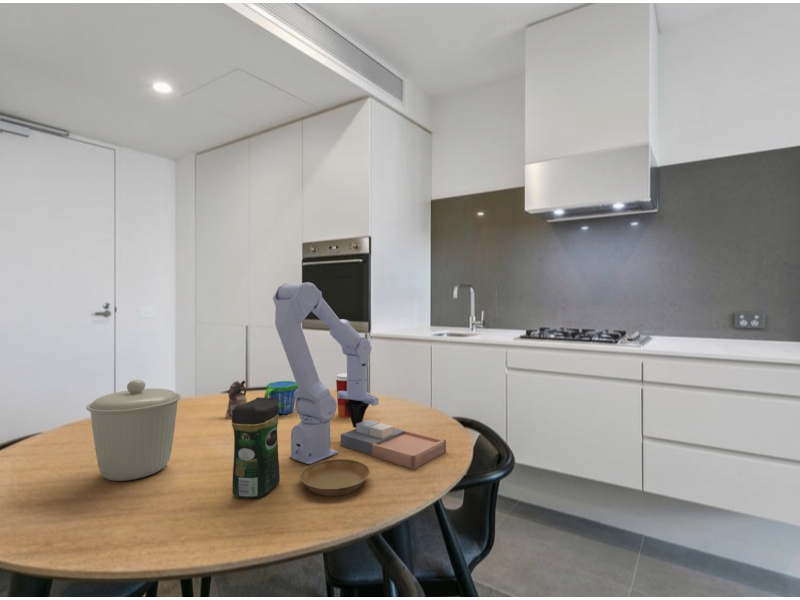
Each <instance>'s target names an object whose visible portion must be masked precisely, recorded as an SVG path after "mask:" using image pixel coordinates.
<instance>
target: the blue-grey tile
mask: <svg viewBox="0 0 800 600" xmlns="http://www.w3.org/2000/svg"><path fill="white" fill-rule="evenodd" d="M379 423H380V422H377V421H374V420H369V419H366V420H363V421H362V422H360V423H357V424H356V428H355V429H356V432H359V433H363V434H367V435H369V434H370V427H371V426H374V425H377V424H379Z"/></svg>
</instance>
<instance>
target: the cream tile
mask: <svg viewBox="0 0 800 600" xmlns="http://www.w3.org/2000/svg"><path fill="white" fill-rule="evenodd" d="M378 423H379V424H377V425H374V426H371V427H370V435H371V436H374V437H378V438H382V439H383V438H385V437H388V436H390V435H392V434H393V428H394V425H391V424H386V423H382V422H378Z"/></svg>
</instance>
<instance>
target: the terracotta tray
mask: <svg viewBox="0 0 800 600" xmlns="http://www.w3.org/2000/svg"><path fill="white" fill-rule="evenodd" d="M446 452H447V440H446V439H443V438H439V437H435V436H432V435H427V434H423V433H419V432H415V431H410V430H407V429H406V430H404V434H403V435H401V436H398V437H396V438H393V439H391V440H389V441H386V442H384V443H382V444H379V445H378V444H372V455H371V456H372V457H374V458H376V459H380V460H382V461H386V462H389V463H393V464H395V465H399V466H401V467H405V468H409V469H411V470H416V469H417V468H420V467H421V466H422V465H424V464H426V463H428V462H429V461H432V460H434V459H435V458H437V457H439V456H440V455H442V454H444V453H446Z"/></svg>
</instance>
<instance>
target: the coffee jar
mask: <svg viewBox="0 0 800 600" xmlns="http://www.w3.org/2000/svg"><path fill="white" fill-rule="evenodd" d="M278 413H279V412H278V404H277V402H276V401H275V400H274V399H273V398H269V397H268V398H264V397H261V396H260V397H256V398H254V399H252V400H250V401H247V403H245V404H242V405H239V406H237V407H236V408H234V409H233V410H232V419H231V426H232V429H233V435H234V436H233V438H234V439H233V440H234V445H233V446H234V447H233V469H232V485H231V486H232V487H231V489H232V490H231V491H232V494H233V495H234V496H236V497H237V498H240V499H243V500H244V499H246V500H250V499H256V498H262V497H264V496H266V495H267V494H268V493H270V492H271V491H273V490H274V489H275V487H276V486H277V485H278V484H279V483H280V479H281V477H280V460H279V444H278V441H279V440H278V426H279V425H278V424H279V423H278V422H279V414H278Z"/></svg>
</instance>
